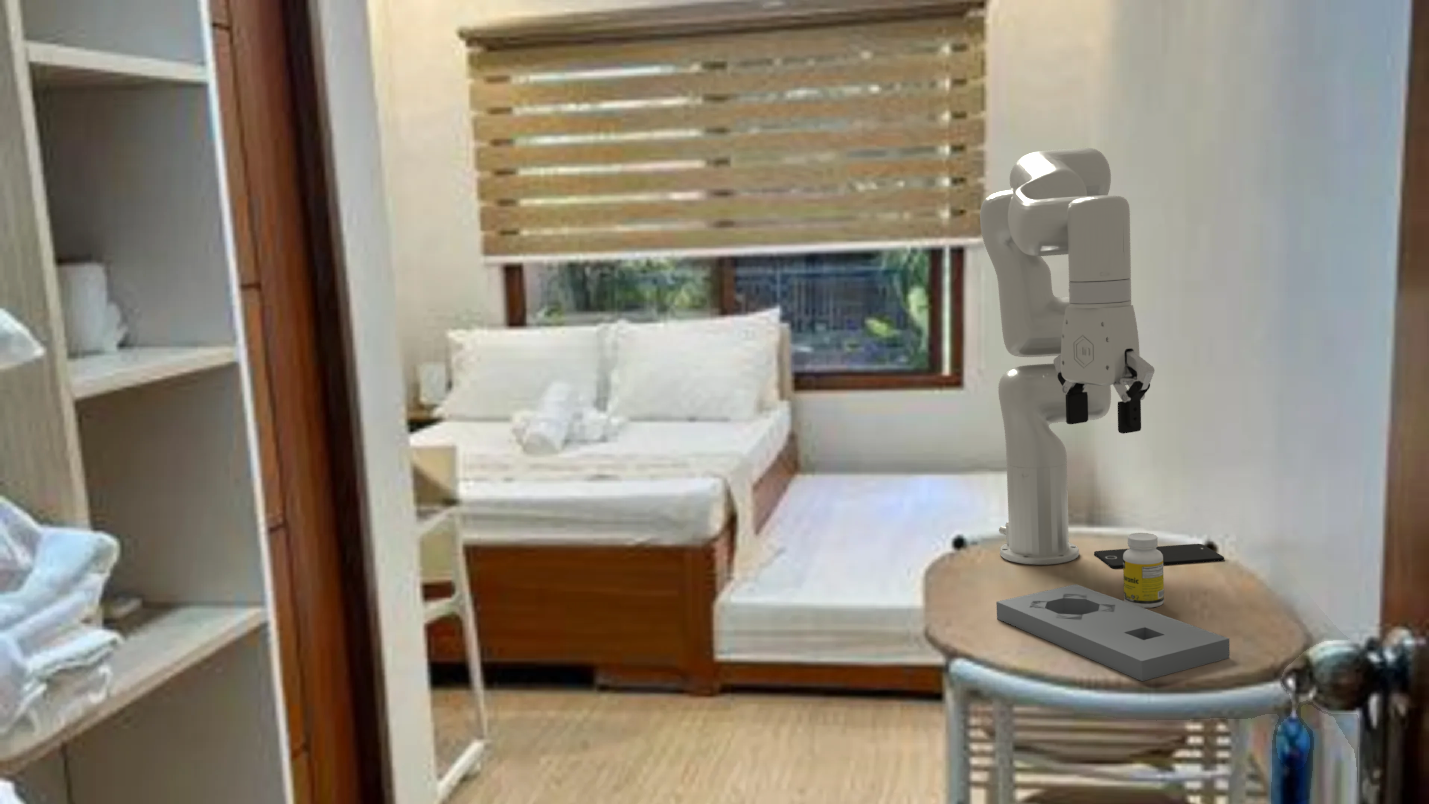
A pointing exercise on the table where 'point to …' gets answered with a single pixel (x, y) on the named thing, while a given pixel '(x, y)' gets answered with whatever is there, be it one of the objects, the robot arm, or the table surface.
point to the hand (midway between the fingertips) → (1102, 427)
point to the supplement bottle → (1143, 571)
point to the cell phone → (1165, 555)
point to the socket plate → (1113, 631)
